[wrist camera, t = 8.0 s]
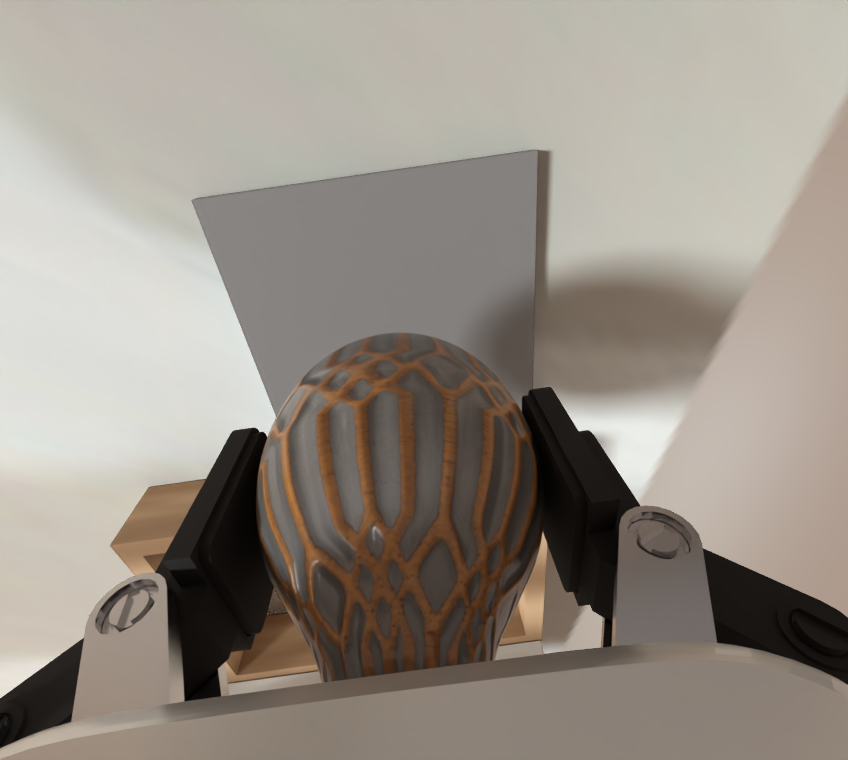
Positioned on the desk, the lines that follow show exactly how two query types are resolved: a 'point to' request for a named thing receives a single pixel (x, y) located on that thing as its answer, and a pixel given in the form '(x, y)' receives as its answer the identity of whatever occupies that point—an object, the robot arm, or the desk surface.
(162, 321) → the desk surface
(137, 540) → the frame
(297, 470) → the vase
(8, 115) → the desk surface
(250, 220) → the mat
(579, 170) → the desk surface
